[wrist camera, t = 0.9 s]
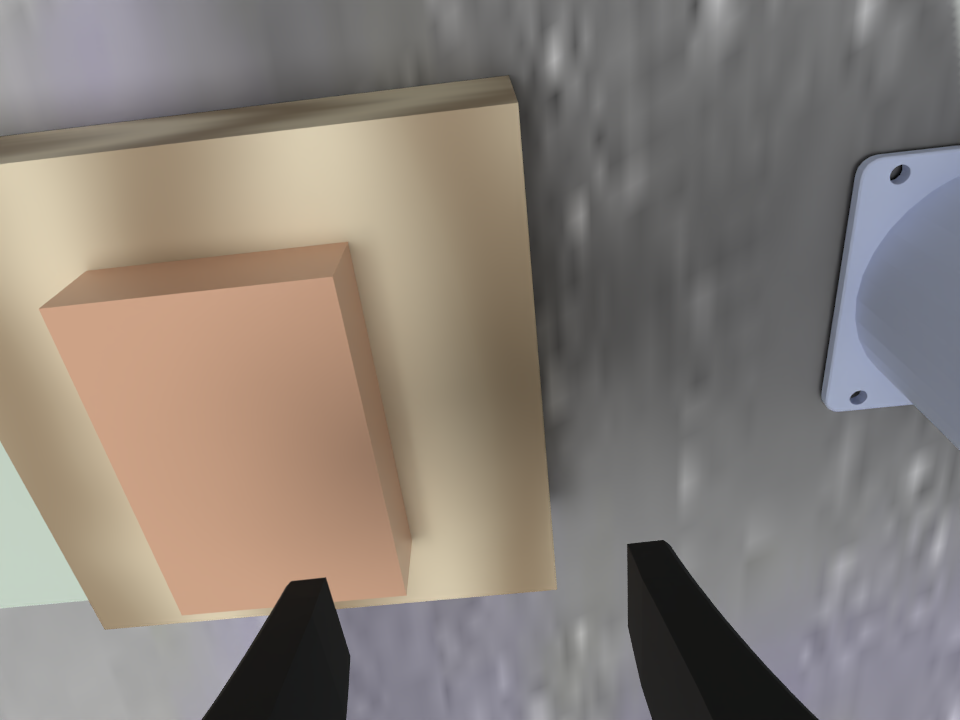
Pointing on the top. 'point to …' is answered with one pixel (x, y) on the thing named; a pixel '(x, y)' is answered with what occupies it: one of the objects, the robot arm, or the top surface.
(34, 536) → the sage mat
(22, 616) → the top surface
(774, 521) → the top surface
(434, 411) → the oak board
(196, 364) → the terracotta tile
